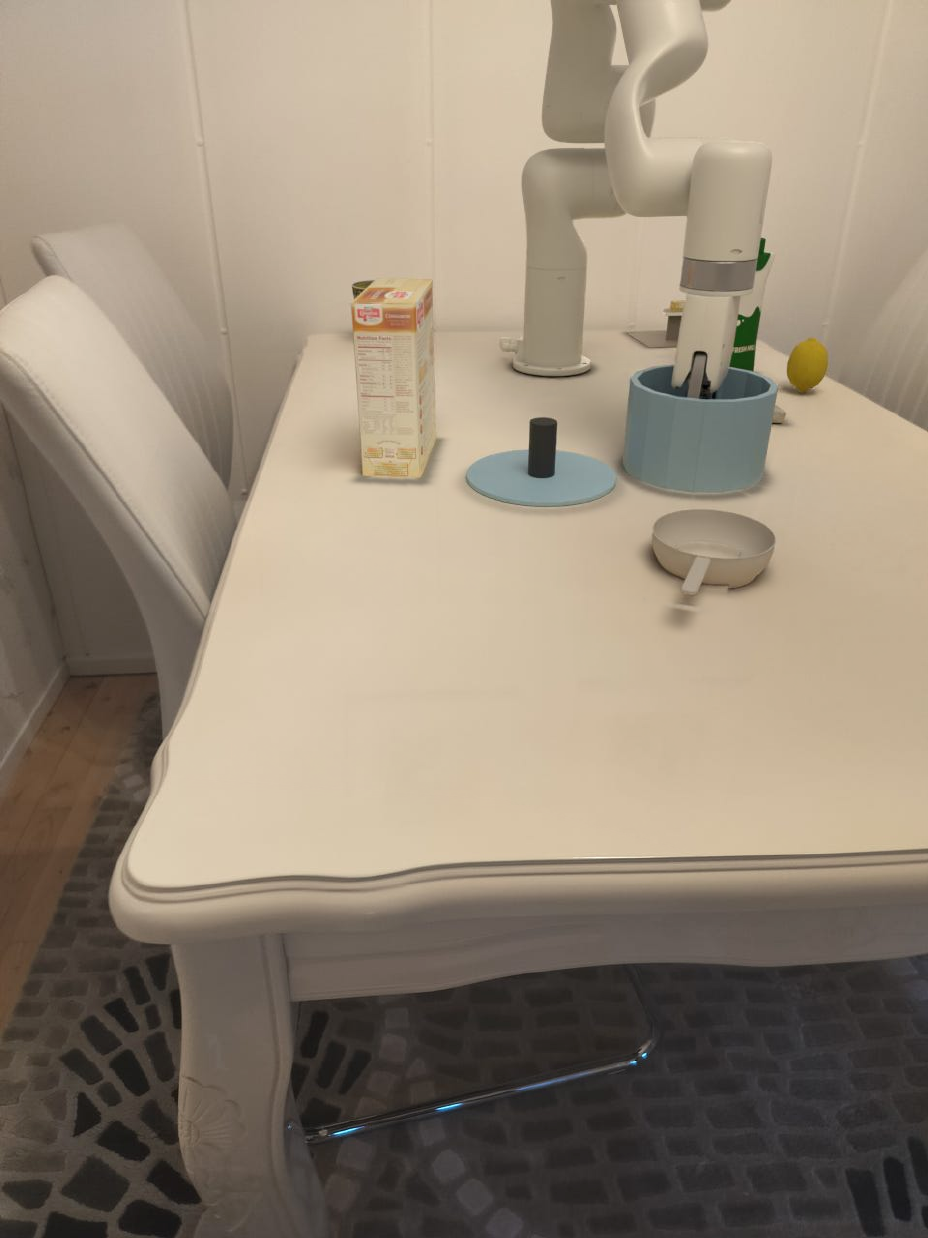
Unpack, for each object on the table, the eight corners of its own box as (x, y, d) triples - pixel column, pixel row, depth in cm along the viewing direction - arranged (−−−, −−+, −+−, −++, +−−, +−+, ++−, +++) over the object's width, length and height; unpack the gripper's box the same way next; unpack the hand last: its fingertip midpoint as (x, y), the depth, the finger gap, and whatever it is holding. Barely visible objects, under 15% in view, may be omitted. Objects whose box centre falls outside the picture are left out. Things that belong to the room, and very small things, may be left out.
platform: (627, 333, 167) (630, 296, 164) (717, 329, 170) (722, 293, 166) (648, 347, 157) (652, 308, 154) (744, 343, 159) (750, 305, 156)
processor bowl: (608, 485, 99) (616, 391, 94) (640, 443, 111) (648, 358, 106) (752, 505, 94) (768, 408, 88) (768, 459, 106) (784, 371, 101)
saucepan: (775, 553, 84) (782, 515, 82) (751, 645, 69) (759, 602, 67) (661, 535, 87) (666, 499, 85) (616, 619, 73) (620, 577, 71)
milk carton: (723, 381, 137) (743, 242, 127) (681, 369, 144) (697, 235, 134) (762, 373, 141) (784, 237, 131) (719, 362, 148) (737, 231, 138)
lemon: (824, 398, 129) (835, 342, 125) (784, 396, 130) (794, 340, 126) (819, 388, 133) (829, 334, 129) (780, 386, 134) (790, 332, 130)
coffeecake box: (383, 438, 113) (375, 276, 104) (438, 440, 113) (435, 277, 103) (359, 480, 100) (347, 300, 91) (421, 482, 100) (416, 301, 90)
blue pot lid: (442, 497, 96) (441, 434, 92) (498, 450, 109) (499, 393, 106) (592, 521, 90) (597, 454, 87) (631, 468, 104) (637, 409, 100)
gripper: (694, 263, 100) (675, 423, 109) (665, 285, 87) (646, 465, 96) (763, 267, 97) (738, 430, 106) (743, 290, 84) (716, 474, 93)
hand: (695, 445), depth 101 cm, fingers closed on blade, 2 cm apart
